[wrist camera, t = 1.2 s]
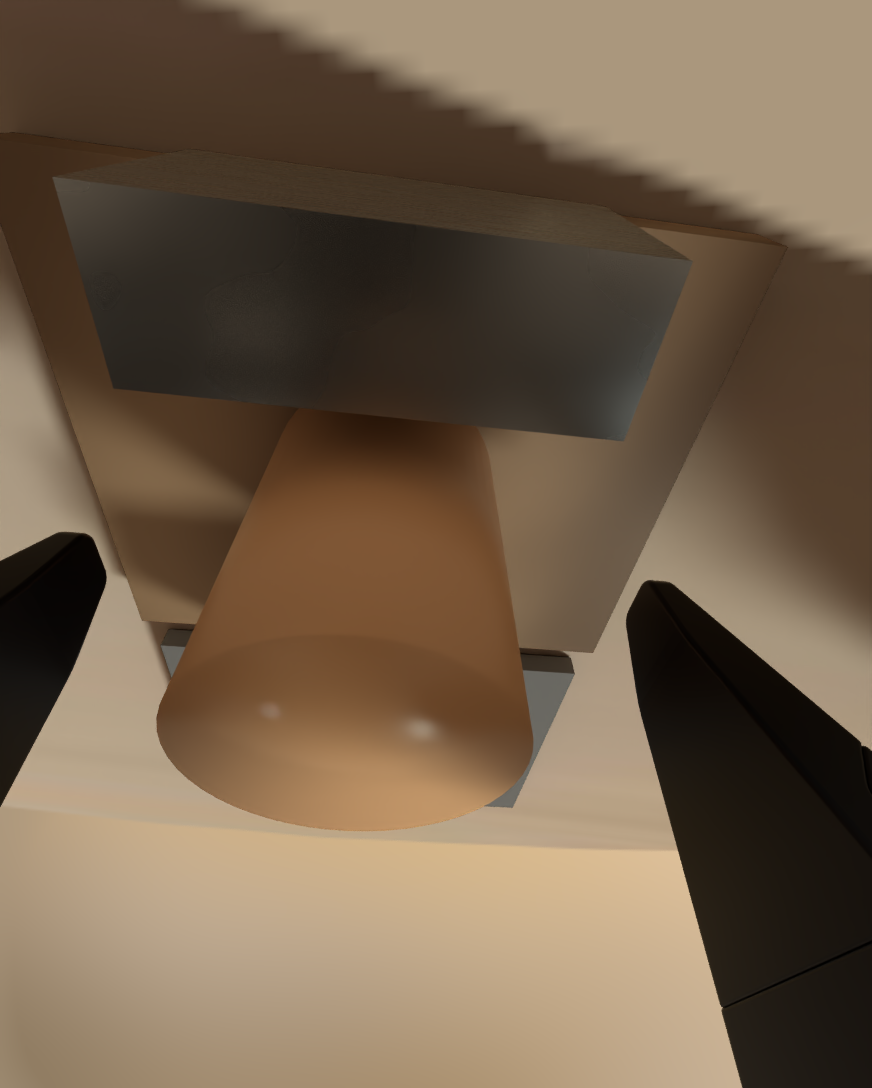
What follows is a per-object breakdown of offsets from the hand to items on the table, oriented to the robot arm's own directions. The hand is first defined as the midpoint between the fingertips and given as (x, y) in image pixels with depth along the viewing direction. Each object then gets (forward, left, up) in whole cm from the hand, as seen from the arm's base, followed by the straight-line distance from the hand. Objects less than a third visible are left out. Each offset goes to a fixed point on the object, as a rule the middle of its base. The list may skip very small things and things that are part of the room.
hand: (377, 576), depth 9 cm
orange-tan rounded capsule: (0, 0, -3) cm, 3 cm away
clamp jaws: (0, 0, -4) cm, 4 cm away
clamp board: (0, 0, -4) cm, 4 cm away
